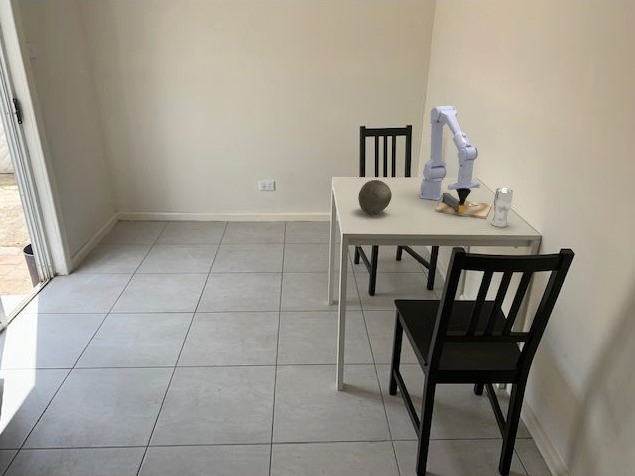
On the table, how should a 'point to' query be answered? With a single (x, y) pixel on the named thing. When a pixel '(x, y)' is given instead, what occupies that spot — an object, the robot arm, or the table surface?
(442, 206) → the label board
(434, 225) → the table surface
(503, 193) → the beer glass
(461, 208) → the swing bar
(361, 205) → the grey ball
